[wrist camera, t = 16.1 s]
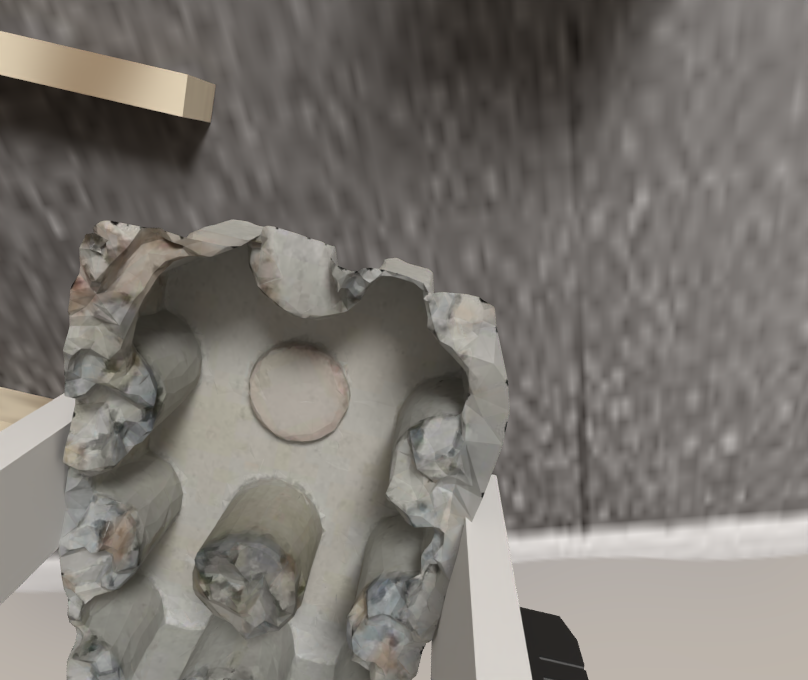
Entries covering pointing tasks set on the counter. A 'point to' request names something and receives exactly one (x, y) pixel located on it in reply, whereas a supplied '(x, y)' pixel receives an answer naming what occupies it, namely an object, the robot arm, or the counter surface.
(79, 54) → the channel
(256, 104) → the counter surface
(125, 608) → the egg carton
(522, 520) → the counter surface
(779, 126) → the counter surface
